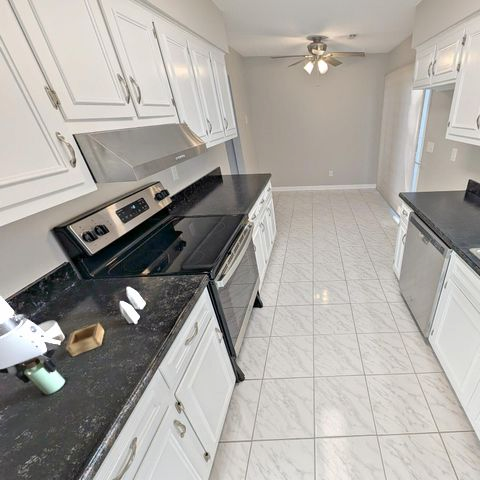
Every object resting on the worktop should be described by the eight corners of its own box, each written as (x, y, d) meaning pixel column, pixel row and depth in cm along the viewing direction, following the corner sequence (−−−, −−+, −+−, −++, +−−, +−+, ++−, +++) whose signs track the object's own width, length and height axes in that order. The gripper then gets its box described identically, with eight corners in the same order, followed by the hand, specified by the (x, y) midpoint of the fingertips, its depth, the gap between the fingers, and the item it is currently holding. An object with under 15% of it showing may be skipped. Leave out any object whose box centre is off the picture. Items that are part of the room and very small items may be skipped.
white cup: (36, 347, 86) (23, 333, 83) (60, 332, 92) (49, 318, 88) (47, 353, 84) (34, 338, 80) (71, 336, 89) (60, 322, 86)
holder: (72, 356, 82) (65, 348, 80) (77, 340, 88) (71, 332, 86) (101, 345, 85) (95, 337, 83) (104, 330, 91) (98, 322, 89)
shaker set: (138, 303, 102) (126, 282, 97) (149, 301, 103) (137, 280, 98) (124, 326, 92) (110, 303, 87) (137, 323, 93) (123, 300, 87)
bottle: (41, 397, 70) (14, 371, 65) (46, 384, 74) (21, 358, 68) (62, 388, 72) (38, 362, 67) (66, 375, 76) (44, 350, 70)
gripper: (47, 303, 68) (83, 349, 77) (-45, 332, 61) (6, 378, 69) (38, 321, 62) (77, 368, 71) (-65, 355, 55) (-7, 402, 64)
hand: (41, 372), depth 70 cm, fingers closed on bottle, 4 cm apart
